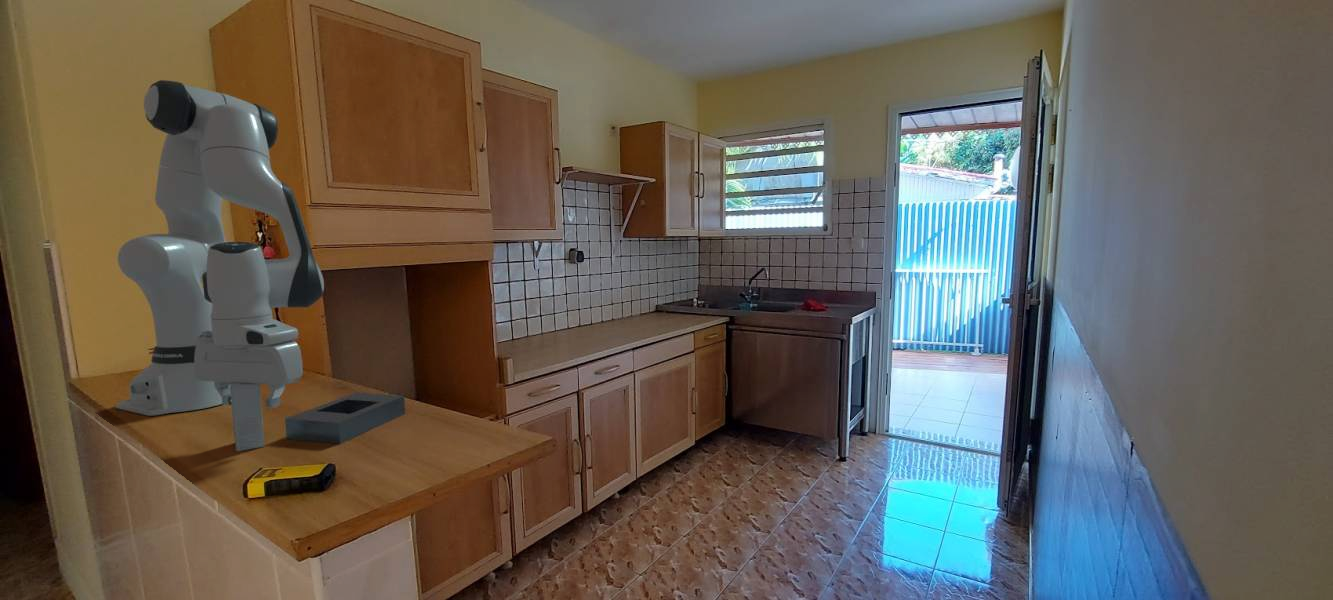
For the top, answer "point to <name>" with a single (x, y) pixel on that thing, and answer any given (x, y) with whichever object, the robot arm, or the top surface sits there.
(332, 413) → the grey slotted block
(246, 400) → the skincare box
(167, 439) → the top surface
